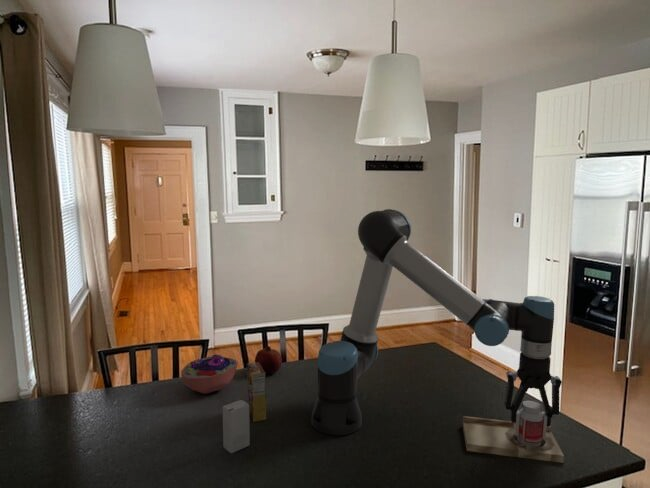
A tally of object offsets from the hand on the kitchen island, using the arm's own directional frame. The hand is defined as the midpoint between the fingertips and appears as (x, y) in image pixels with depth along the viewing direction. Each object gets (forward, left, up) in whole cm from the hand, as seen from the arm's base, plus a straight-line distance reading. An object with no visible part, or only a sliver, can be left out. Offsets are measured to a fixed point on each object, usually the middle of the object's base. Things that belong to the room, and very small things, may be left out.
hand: (529, 434), depth 124 cm
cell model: (-101, +12, -3) cm, 102 cm away
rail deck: (-5, 0, -3) cm, 6 cm away
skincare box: (-78, -19, -3) cm, 80 cm away
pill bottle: (0, 0, -2) cm, 2 cm away
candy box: (-79, -1, -3) cm, 79 cm away
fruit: (-86, +30, -3) cm, 91 cm away
